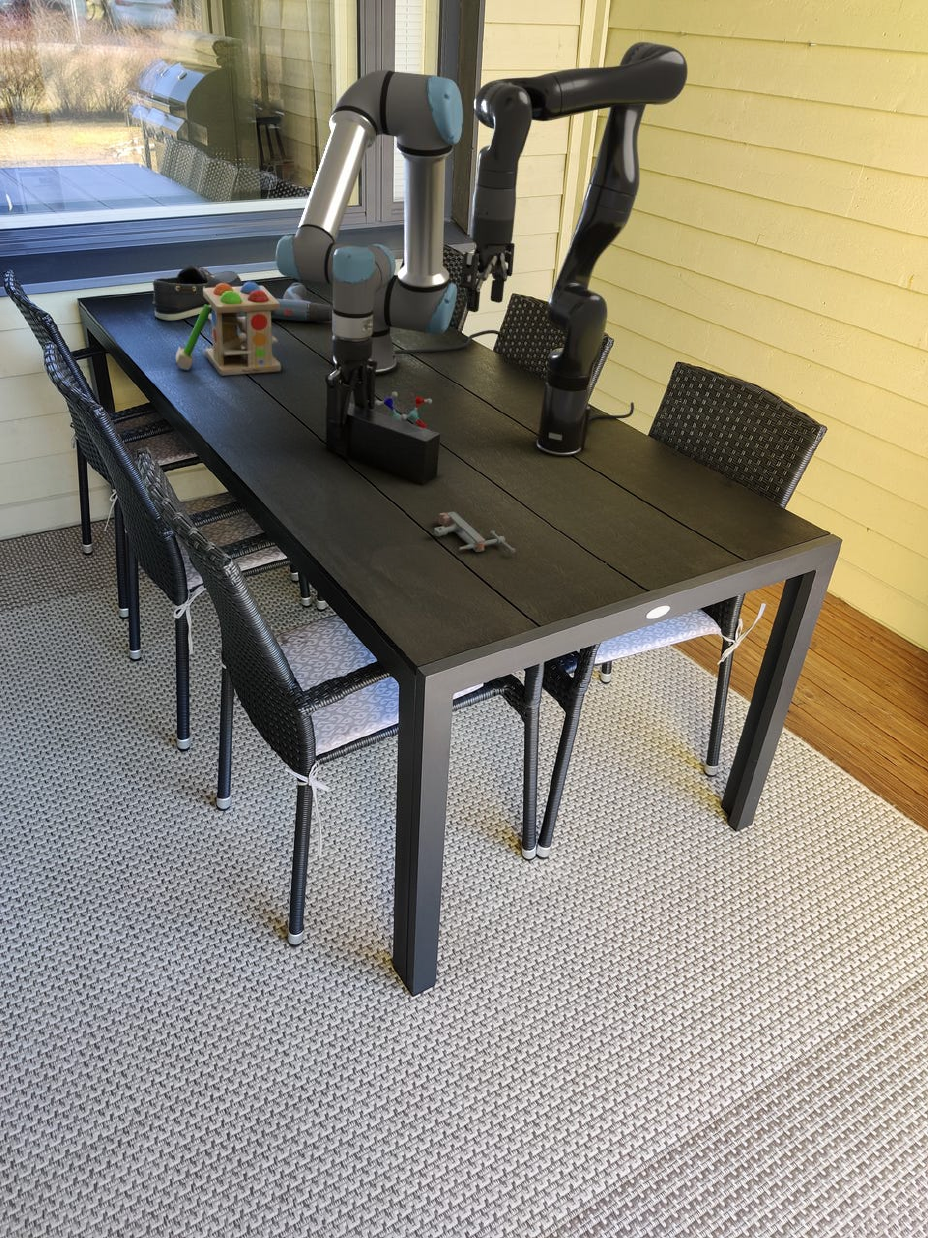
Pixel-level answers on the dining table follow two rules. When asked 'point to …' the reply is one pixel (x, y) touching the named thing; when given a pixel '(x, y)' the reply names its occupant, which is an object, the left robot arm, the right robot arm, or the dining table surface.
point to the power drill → (301, 306)
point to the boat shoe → (187, 291)
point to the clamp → (466, 533)
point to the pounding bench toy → (229, 347)
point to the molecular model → (412, 415)
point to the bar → (389, 444)
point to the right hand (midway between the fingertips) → (484, 306)
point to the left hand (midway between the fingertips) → (350, 449)
